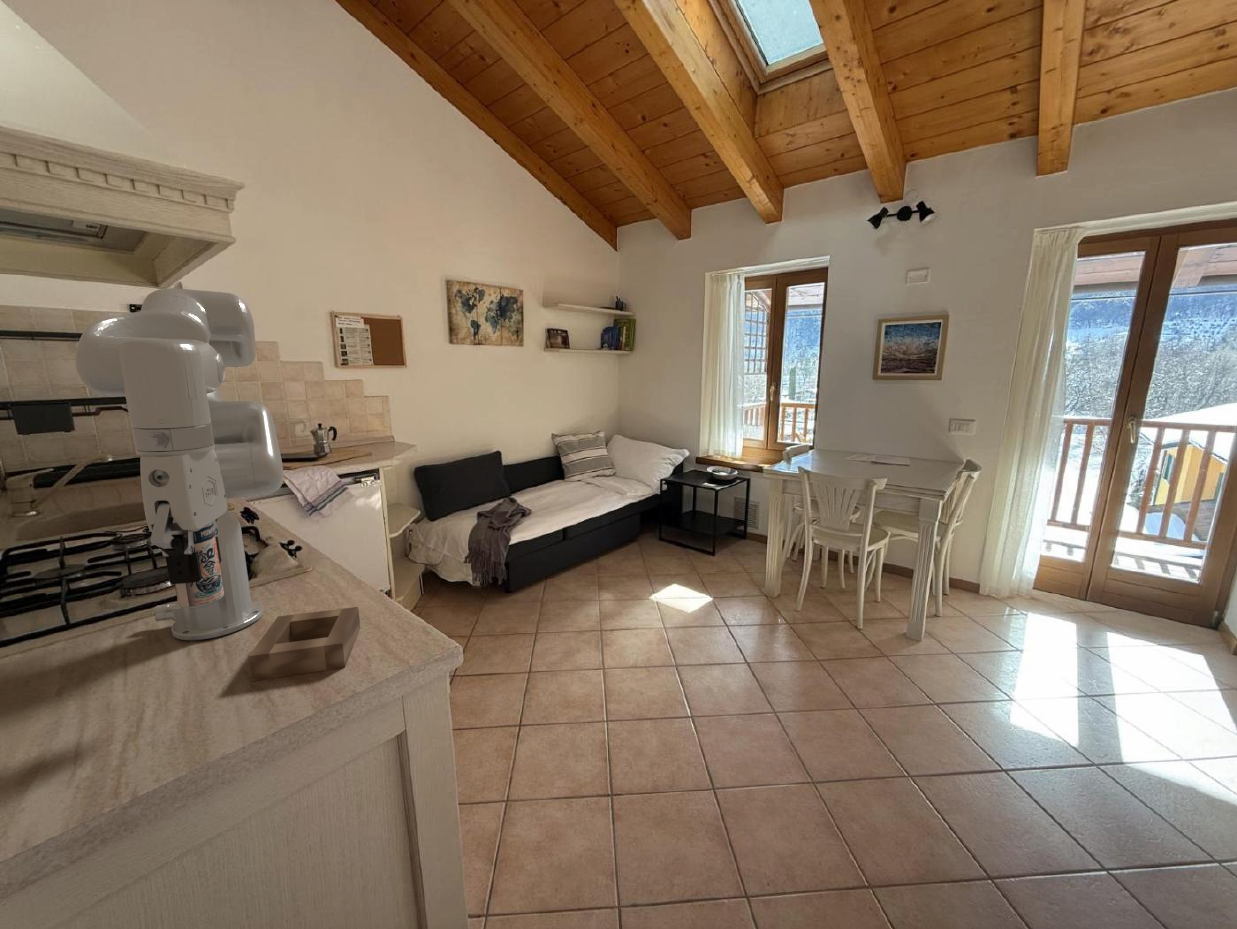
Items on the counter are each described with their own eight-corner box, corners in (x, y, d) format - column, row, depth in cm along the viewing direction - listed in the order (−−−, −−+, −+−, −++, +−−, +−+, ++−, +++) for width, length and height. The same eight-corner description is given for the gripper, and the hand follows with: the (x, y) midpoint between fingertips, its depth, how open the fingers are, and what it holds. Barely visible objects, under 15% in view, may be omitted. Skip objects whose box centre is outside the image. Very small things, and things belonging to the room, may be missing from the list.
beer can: (198, 613, 64) (183, 525, 61) (169, 608, 65) (153, 522, 62) (233, 596, 69) (221, 514, 66) (205, 592, 69) (192, 511, 67)
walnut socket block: (252, 681, 71) (248, 656, 70) (280, 638, 82) (278, 616, 81) (345, 667, 74) (342, 643, 74) (360, 628, 86) (358, 606, 85)
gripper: (175, 450, 55) (199, 599, 59) (238, 429, 71) (254, 547, 75) (90, 452, 53) (121, 607, 57) (175, 430, 69) (195, 552, 73)
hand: (197, 572), depth 66 cm, fingers closed on beer can, 4 cm apart
